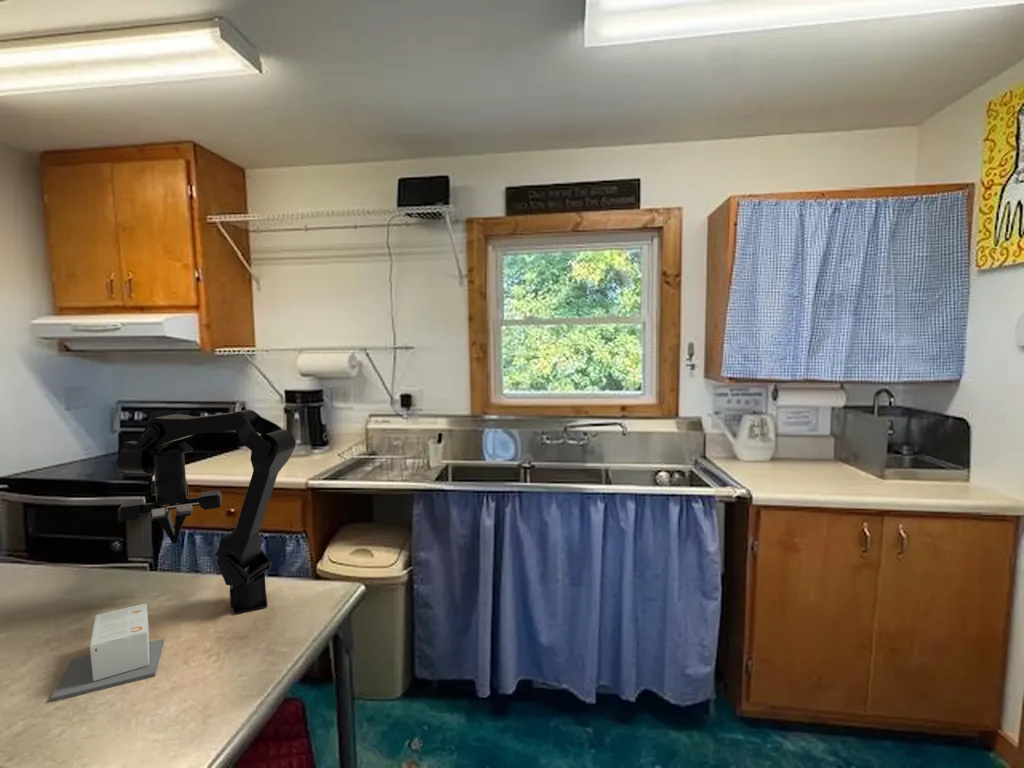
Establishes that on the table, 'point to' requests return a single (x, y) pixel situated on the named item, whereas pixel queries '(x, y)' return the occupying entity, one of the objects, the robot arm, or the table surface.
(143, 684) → the table surface
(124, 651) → the small box
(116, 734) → the table surface
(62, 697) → the mat
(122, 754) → the table surface
